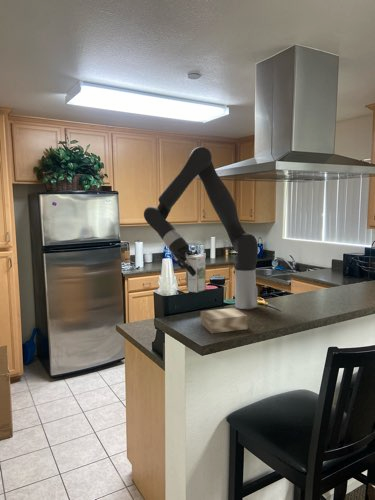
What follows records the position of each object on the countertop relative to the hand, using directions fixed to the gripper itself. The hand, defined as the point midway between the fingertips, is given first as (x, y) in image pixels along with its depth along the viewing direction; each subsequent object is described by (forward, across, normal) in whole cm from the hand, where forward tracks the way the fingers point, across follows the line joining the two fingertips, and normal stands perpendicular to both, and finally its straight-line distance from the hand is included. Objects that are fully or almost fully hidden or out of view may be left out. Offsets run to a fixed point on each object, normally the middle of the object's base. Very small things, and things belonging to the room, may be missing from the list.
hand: (199, 273), depth 145 cm
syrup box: (+4, 0, +7) cm, 8 cm away
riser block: (+23, -3, +4) cm, 23 cm away
